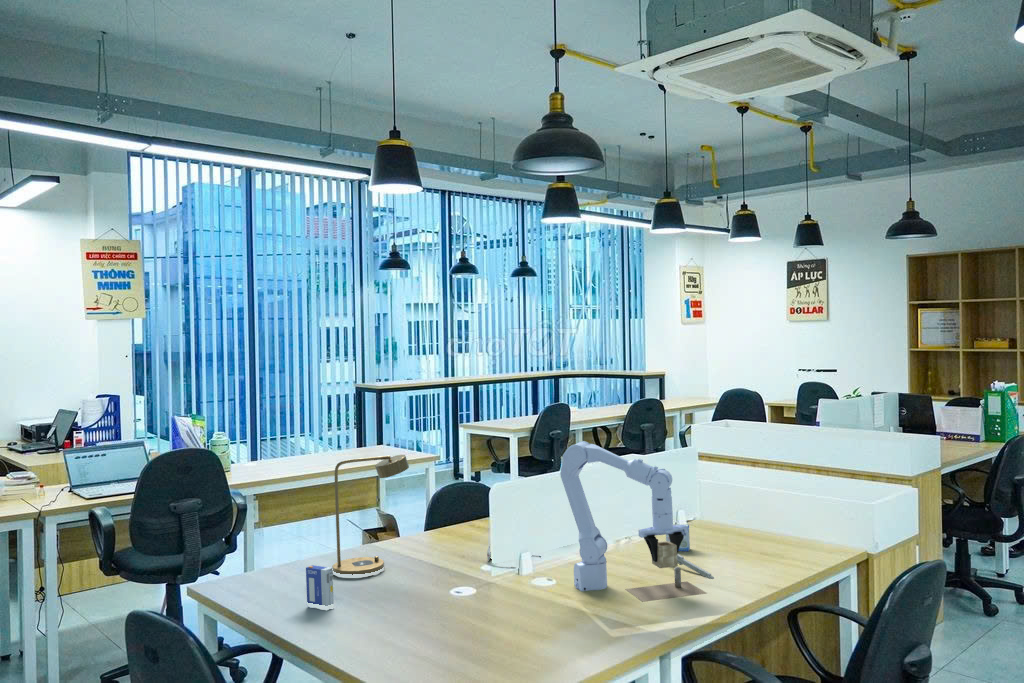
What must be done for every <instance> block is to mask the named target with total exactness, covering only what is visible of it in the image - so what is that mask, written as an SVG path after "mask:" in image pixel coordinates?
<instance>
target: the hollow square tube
mask: <svg viewBox="0 0 1024 683" xmlns="http://www.w3.org/2000/svg"><path fill="white" fill-rule="evenodd" d="M657 555H658V559H657V562H654V561H653V560H652V559H651V564H652V565H654V566H656V567H657V568H659V569H665V568H675V567H679V565H678V563H677V545H675V544H673V543H671V542H669V541H666V540H664V541H663V540H662V541H658V546H657Z"/></svg>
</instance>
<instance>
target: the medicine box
mask: <svg viewBox="0 0 1024 683" xmlns="http://www.w3.org/2000/svg"><path fill="white" fill-rule="evenodd" d="M673 525H681V524H677V523H675V524H674V523H673ZM685 525H686V526H688V533H682V534H683V535H684V539H683V540H682V542H681V544H680V547H679V550H678V552H689V551H690V549H691V541H690V524H685ZM665 541H669V542H670V538H669V534H665Z"/></svg>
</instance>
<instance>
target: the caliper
mask: <svg viewBox="0 0 1024 683" xmlns="http://www.w3.org/2000/svg"><path fill="white" fill-rule="evenodd" d="M677 563H678V564H679V565H678V566H685V567H687V568H688V569H690V570H692V571H694V572H696V573H697V574H699V575H702V576H703V577H705V578H708V579H715V577H714V576H713V575H712V573H710V572H708V571H707V570H705V569H703V568H702V567H700V566H699V565H697V564H694V563H693V562H691V561H689V560H687V559H685V558H684V556H682V555H680V554H679V553H678V554H677Z"/></svg>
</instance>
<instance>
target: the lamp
mask: <svg viewBox="0 0 1024 683" xmlns="http://www.w3.org/2000/svg"><path fill="white" fill-rule="evenodd" d="M377 460H378V461H379V462H377V463H376V464H374V467H375V470H376V473H377V476H378V478H379V479H386V478H390V477H393V476H396V475H399V474H402V473H404V472H405V471H407V470H408V469H409V468H410V465H409V462H408V459H407V456H406V454H398V455H393V456H391V455H382V456H371V457H362V458H353V459H346V460H342V461H340V462H338V463H337V464H336V465H335V468H334V497H335V498H334V499H335V501H334V502H335V526H336V527H335V530H336V532H335V534H336V558H337V560H336V561H337V562H335V563H334V564H333V565H332V567H331V568H332V569H333V570H332V572H333V571H334V572H336V573H340V574H352V575H353V574H365V573H371V572H375V571H378V570H380V569H382V568H383V567H384V568H385V561H384V559H382V558H380V557H379V555H376V556H374V557H371V556H370V557H369V556H364V557H362V556H361V557H353V558H348V559H347V558H345V559H343V560H341V540H340V539H341V537H340V533H341V532H340V510H339V509H340V507H339V482H338V481H339V477H338V476H339V468H340V467H341V466H342V465H345V464H350V463H359V462H360V463H361V462H368V461H369V462H370V461H377ZM380 460H381V461H380Z"/></svg>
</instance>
